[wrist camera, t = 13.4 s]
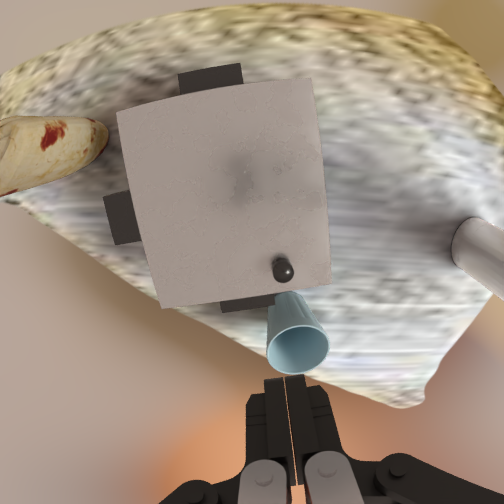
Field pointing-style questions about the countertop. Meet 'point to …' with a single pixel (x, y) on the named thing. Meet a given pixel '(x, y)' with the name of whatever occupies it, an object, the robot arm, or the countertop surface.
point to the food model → (46, 149)
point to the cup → (294, 336)
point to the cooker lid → (225, 192)
